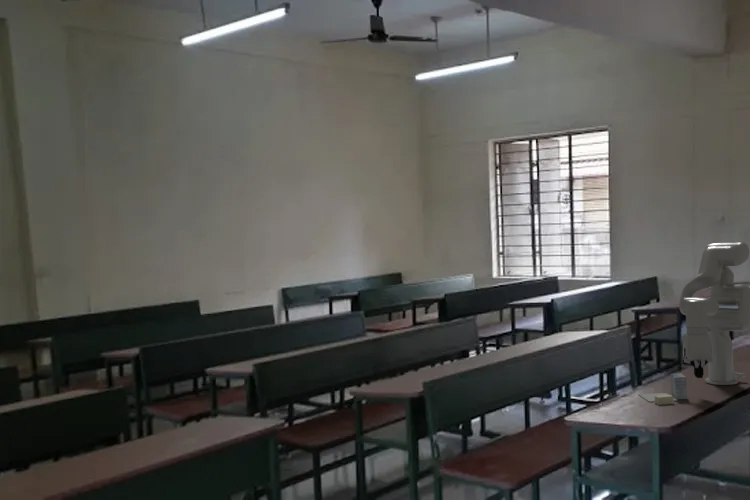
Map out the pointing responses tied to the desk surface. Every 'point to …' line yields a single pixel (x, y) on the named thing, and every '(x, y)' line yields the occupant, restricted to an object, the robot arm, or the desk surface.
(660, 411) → the desk surface
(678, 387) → the medicine box
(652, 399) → the mat
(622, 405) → the desk surface
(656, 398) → the pale yellow faceted block
